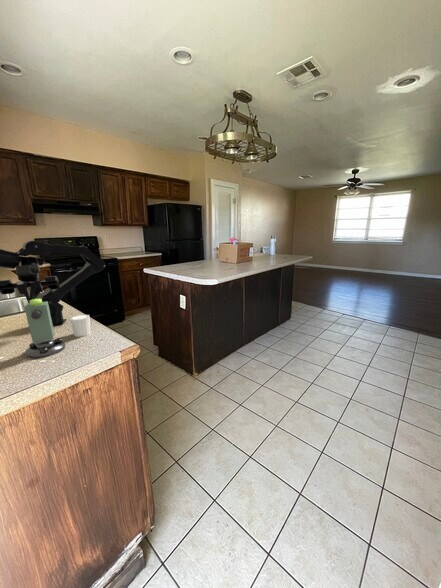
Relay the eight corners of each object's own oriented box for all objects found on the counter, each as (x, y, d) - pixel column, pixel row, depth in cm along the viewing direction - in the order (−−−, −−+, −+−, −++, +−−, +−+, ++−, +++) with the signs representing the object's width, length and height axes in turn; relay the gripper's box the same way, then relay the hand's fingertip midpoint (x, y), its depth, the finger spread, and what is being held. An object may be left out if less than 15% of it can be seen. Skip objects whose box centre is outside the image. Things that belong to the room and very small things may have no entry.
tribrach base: (29, 347, 86) (28, 339, 86) (66, 340, 91) (65, 333, 90) (22, 361, 77) (20, 352, 76) (64, 353, 82) (62, 344, 81)
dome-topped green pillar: (35, 341, 84) (26, 299, 79) (55, 337, 86) (46, 297, 82) (32, 349, 79) (22, 305, 74) (53, 345, 81) (44, 302, 77)
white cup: (68, 335, 96) (65, 318, 94) (85, 329, 102) (82, 313, 100) (79, 338, 93) (76, 321, 91) (96, 332, 99) (93, 315, 97)
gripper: (-9, 258, 88) (-13, 295, 81) (53, 255, 96) (55, 288, 89) (2, 277, 96) (0, 311, 90) (58, 272, 105) (61, 304, 98)
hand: (30, 303), depth 91 cm, fingers closed
